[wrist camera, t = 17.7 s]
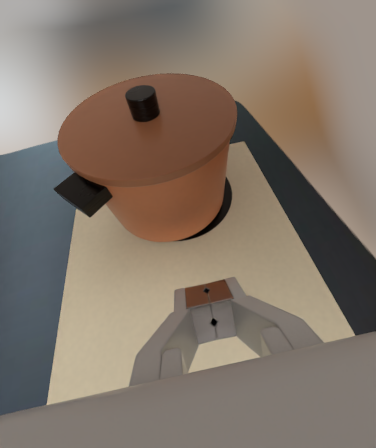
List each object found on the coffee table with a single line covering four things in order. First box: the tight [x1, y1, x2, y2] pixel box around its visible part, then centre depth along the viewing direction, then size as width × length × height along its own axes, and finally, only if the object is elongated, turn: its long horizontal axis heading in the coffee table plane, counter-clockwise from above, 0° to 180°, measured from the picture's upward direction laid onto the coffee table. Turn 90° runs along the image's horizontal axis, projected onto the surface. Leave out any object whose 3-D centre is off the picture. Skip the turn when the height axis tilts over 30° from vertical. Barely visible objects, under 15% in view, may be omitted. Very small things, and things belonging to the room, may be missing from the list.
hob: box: [47, 142, 355, 405], centre depth 14 cm, size 22×41×1 cm, turn 11°
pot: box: [54, 74, 237, 242], centre depth 16 cm, size 16×13×11 cm
